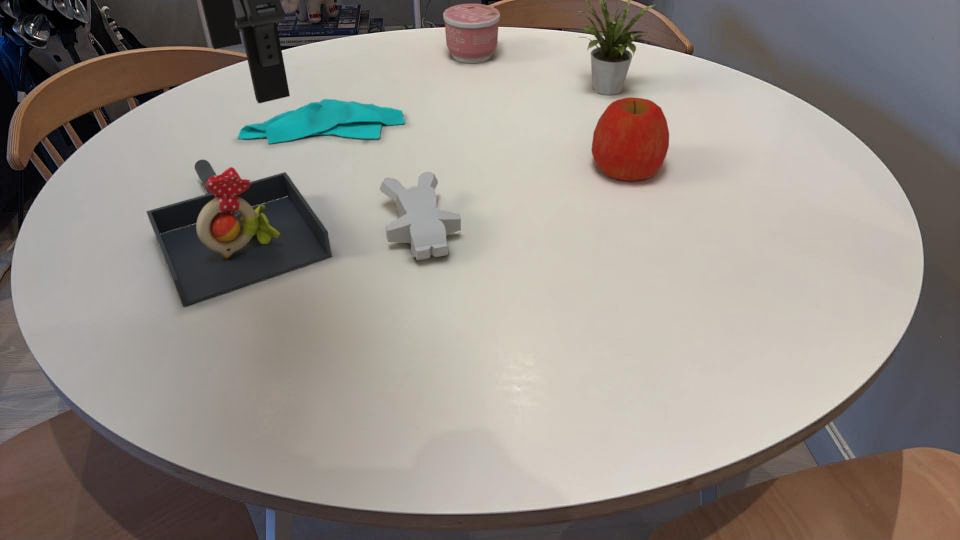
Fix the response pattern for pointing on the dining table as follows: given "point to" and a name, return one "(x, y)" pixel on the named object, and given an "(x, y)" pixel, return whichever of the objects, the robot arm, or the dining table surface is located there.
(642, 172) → the apple
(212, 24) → the robot arm
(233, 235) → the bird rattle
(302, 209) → the scoop
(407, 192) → the bunny figurine
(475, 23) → the container
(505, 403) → the dining table surface
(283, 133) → the cloth
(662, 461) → the dining table surface
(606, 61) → the house plant
